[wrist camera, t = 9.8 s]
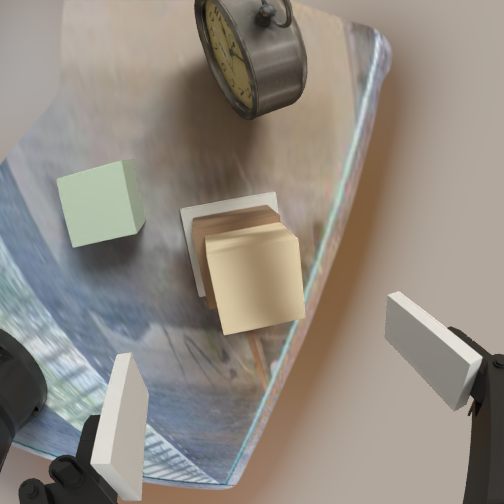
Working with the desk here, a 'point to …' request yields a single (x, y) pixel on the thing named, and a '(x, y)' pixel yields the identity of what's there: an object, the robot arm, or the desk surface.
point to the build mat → (216, 208)
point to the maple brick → (256, 277)
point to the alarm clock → (253, 52)
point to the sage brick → (102, 203)
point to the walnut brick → (220, 225)
